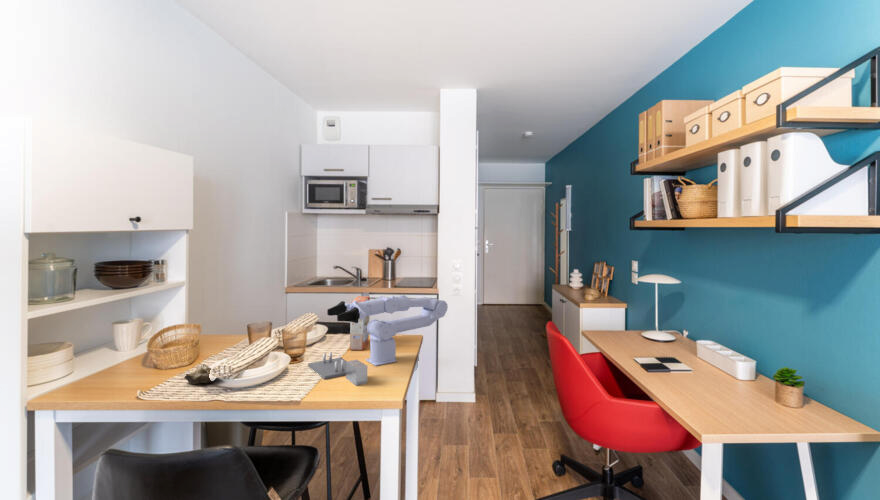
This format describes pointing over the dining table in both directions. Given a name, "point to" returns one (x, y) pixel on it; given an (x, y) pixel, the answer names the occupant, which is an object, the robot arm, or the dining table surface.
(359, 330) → the cracker box
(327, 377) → the pin tray
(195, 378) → the fossilized seashell
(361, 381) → the grey block
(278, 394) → the dining table surface
